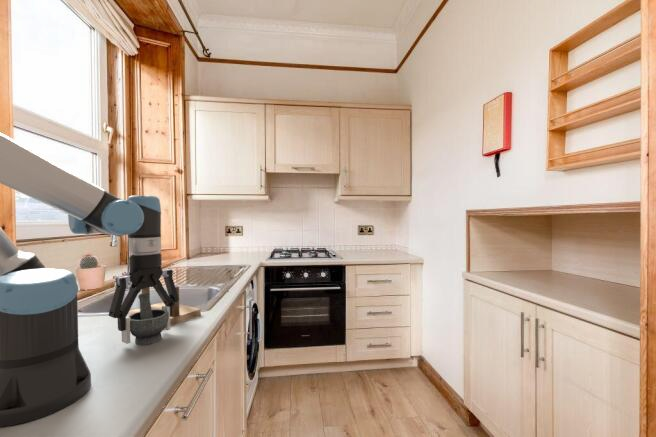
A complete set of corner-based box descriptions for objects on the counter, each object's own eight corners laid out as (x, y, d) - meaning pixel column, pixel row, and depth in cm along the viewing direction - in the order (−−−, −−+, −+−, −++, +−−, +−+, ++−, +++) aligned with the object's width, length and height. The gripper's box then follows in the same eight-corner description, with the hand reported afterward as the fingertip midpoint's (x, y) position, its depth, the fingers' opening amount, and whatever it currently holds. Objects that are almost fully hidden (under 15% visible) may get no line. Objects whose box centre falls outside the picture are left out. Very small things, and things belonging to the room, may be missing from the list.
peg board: (152, 331, 89) (151, 293, 89) (118, 319, 100) (117, 286, 99) (200, 315, 103) (199, 282, 103) (166, 306, 113) (165, 276, 113)
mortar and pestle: (172, 340, 82) (171, 296, 82) (131, 351, 76) (130, 303, 76) (162, 329, 91) (161, 288, 90) (124, 337, 84) (123, 294, 84)
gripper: (104, 259, 71) (106, 354, 71) (191, 249, 90) (192, 324, 91) (90, 257, 75) (92, 347, 75) (176, 248, 94) (177, 320, 95)
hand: (147, 335), depth 83 cm, fingers closed on mortar and pestle, 10 cm apart
